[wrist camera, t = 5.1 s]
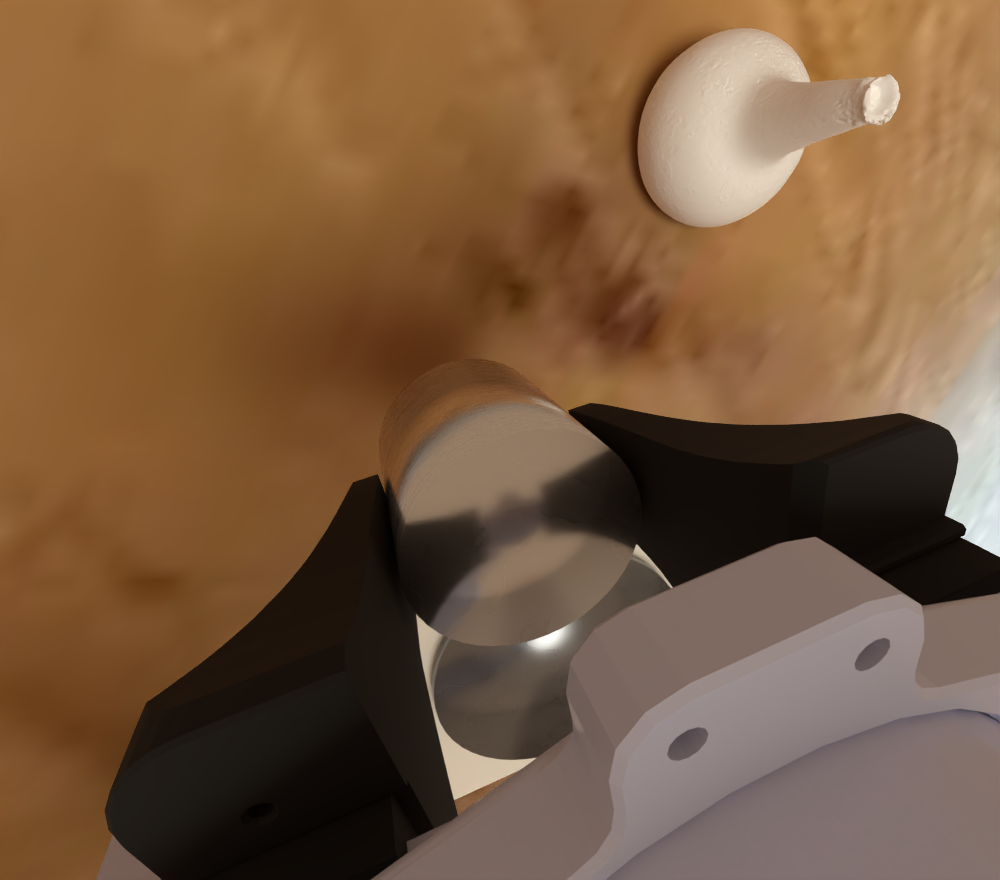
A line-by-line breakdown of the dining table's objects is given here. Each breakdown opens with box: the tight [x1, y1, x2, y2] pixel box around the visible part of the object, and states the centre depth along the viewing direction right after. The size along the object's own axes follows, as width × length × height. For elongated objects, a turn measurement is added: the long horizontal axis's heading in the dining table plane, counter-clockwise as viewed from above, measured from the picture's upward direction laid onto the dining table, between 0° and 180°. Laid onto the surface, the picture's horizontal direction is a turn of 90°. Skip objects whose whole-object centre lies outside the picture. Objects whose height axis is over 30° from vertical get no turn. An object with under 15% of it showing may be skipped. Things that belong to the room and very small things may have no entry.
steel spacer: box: [379, 359, 641, 646], centre depth 12 cm, size 5×5×5 cm
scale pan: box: [431, 555, 671, 760], centre depth 24 cm, size 13×13×1 cm
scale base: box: [416, 544, 673, 800], centre depth 24 cm, size 18×16×6 cm
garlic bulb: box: [638, 28, 900, 227], centre depth 16 cm, size 6×6×8 cm
